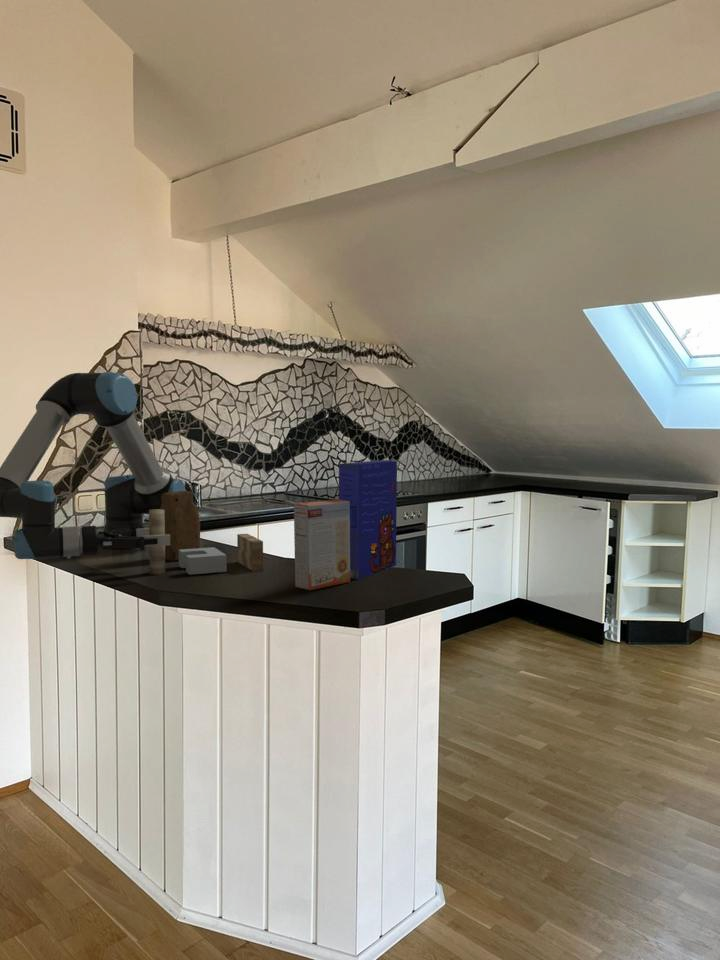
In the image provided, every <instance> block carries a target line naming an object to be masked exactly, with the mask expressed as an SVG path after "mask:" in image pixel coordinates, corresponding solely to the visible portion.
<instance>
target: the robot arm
mask: <svg viewBox="0 0 720 960" xmlns="http://www.w3.org/2000/svg"><path fill="white" fill-rule="evenodd" d="M137 402H138V396H137V390H136V386H135V385H134V383H133V381H132V380H131V379H130V377H128V376H127V375H125V374H123V373H121V372H114V371H113V372H112V371H106V372H105V371H104V372H74V373H70V374H67V375H65V376H63V377H61V378H59V379H58V380H56V382H54V383H53V384H52V385H51V386H50V387H49V388H47V389H46V390H45V392H43V395H42V396H41V397H40V398H39V400H38V402H37V403H36V405H35V410H36V412H35V413H34V414H33V416H32V418H30V421H29V422H28V424H27V426H26V427H25V429H24V430H23V432H22V433H21V435H20V436H19V437H18V439H17V441H16V443H15V444H14V445H13V447H12V448H11V450H10V451H9V453H8V455H7V456H6V458H5V459H4V461H3V462H2V464H1V465H0V518H15V519H21V524H22V525H21V528H19V529H16V530H14V532H13V542H14V543H13V544H14V556H15V558H16V559H18V560H42V559H43V560H44V559H51V558H53V559H54V558H55V559H56V558H63V557H65V558H67V559H68V560H69V559H70V560H71V558H72V557H79V556H80V555H81V554H82V556H97V555H98V553H99V547H101V548H102V549H104V550H105V549H106V550H108V549H140V550H141V551H145V548H146V547H147V548H148V547H149V548H150V546H166V545H170V534H169V535H152V536H149V527H145V524H144V515H149V510H152V509H161V504H162V501H161V496H162V494H164V493H168V492H178V491H186V487H185V484H184V483H185V482H184V481H183V480H182V479H180V478H173V477H172V475H171V472H170V471H169V469H167V468H165V467H162V466H161V465H160V463H159V461H158V458H157V457H156V454H155V453H154V451H153V449H152V447H151V446H150V443H149V442H148V440H147V438H146V436H145V434H144V432H143V430H142V428H141V427H140V424H139V423H138V420H137V419H136V417H135V416H134V414H135V412H136V406H137ZM78 415H91V416H92V417H93V418H94V420H95V423H96V424H97V425H98V426H99V427H101V428H105V429H106V430H107V432H108V434H109V435H110V437H111V439H112V441H113V442H114V445H115V446H116V448H117V451H119V453H120V455H121V457H122V458H123V460H124V462H125V463H126V465H127V467H128V469H129V471H130V474H125V475H123V474H122V475H115V476H108V477H107V478H106V479H105V480H104V482H105V483H104V510H105V512H104V513H105V514H104V516H105V524H104V526H103V530H102V531H101V530H99V531H98V527H97V526H96V525H86V526H85V525H84V526H81V527H79V526H78V525H77V526H62V527H56V521H55V520H56V519H55V518H56V514H55V507H56V506H55V500H56V498H55V497H56V496H55V490H54V484H53V483H52V482H51V481H49V480H30V479H31V477H32V476H33V474H34V472H35V471H36V469H37V468H38V465H39V464H40V462H41V460H42V458H43V457H44V456H45V454H46V452H47V451H48V449H49V447H50V446H51V445H52V443H53V441H54V440H55V438H56V437H57V434H58V433H59V431H60V430H61V428H62V426H67V424H69V422H70V421H71V419H72V418H74V417H75V416H78Z"/></svg>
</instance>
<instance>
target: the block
mask: <svg viewBox="0 0 720 960" xmlns="http://www.w3.org/2000/svg"><path fill="white" fill-rule="evenodd" d="M193 496H194V495H193V492H192V491H188V490H185V491H178V492H168V493H164V494H162V496H161V501H162V504H161V509H163V510H165V535H169V534H170V545H166V546H165V561H169V562H171V561H174V562H176V561H178V562H179V550H181V549H196V548H201V546H200V545H201V519H200V514H199V511H198V509H197V505H196V504H195V503H194V500H193Z"/></svg>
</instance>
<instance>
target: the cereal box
mask: <svg viewBox="0 0 720 960" xmlns="http://www.w3.org/2000/svg"><path fill="white" fill-rule="evenodd" d="M397 474H398V460H391V459H386V460H385V459H384V460H382V459H381V460H380V459H379V460H370V461H369V460H368V461H367V460H366V461H357V462H347V463H339V464H338V500H343V501H349V502H350V580H362V579H364V578H366V577H369V576H371V575H375V574H377V572H378V573H380V572H383V571H385V570H384V569H385V568H381V567H386V568H388V569H390V568H393V567H395V566H397V508H398V507H397V504H398V503H397V502H398V501H397V499H398V497H397V495H398V494H397V493H398V490H397V489H398V487H397V486H398V485H397V483H398V482H397V481H398V477H397V476H398V475H397ZM379 571H380V572H379Z"/></svg>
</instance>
